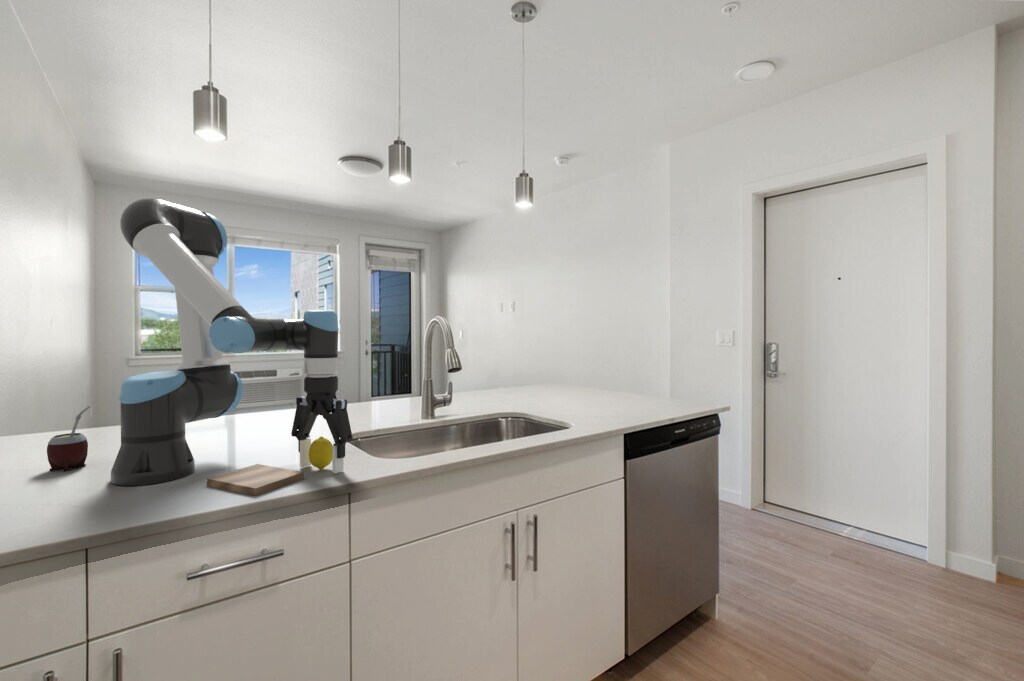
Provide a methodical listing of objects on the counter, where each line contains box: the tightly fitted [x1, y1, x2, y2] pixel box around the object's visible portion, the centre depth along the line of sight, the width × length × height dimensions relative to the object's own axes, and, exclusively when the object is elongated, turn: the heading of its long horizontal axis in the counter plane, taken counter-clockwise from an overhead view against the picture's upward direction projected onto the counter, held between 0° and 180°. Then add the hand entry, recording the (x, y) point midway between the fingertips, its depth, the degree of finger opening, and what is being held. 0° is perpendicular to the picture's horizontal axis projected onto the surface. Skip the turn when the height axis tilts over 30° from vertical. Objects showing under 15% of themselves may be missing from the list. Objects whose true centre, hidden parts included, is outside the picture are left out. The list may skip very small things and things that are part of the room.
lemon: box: [309, 436, 333, 471], centre depth 111 cm, size 6×6×8 cm
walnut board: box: [206, 463, 305, 496], centre depth 102 cm, size 15×12×2 cm
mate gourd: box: [46, 406, 91, 473], centre depth 111 cm, size 8×8×15 cm
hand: (321, 468), depth 111 cm, fingers open, 10 cm apart
